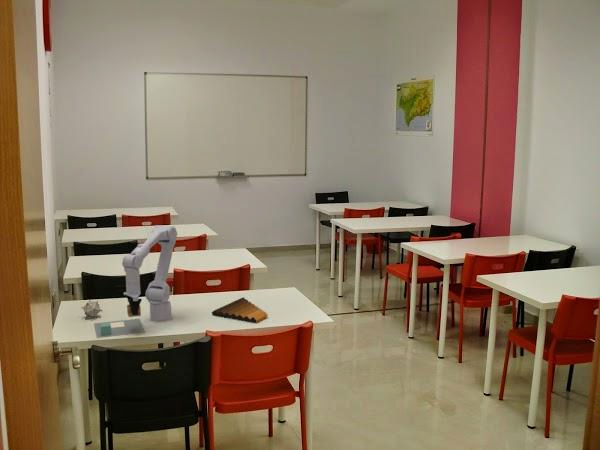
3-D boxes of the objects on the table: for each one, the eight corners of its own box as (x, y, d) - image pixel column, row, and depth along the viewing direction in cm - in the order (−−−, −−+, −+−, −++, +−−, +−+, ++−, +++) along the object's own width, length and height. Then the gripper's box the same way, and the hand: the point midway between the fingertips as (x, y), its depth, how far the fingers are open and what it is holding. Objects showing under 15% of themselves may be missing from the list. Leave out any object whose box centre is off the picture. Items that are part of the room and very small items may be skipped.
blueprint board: (139, 320, 278) (139, 318, 278) (145, 334, 260) (145, 331, 260) (93, 325, 271) (93, 323, 271) (96, 339, 253) (96, 337, 252)
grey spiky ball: (91, 326, 280) (80, 313, 274) (85, 315, 286) (75, 303, 280) (108, 315, 283) (98, 302, 276) (102, 305, 289) (92, 292, 282)
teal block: (110, 331, 260) (110, 322, 259) (111, 334, 256) (110, 325, 256) (100, 332, 259) (100, 323, 258) (101, 335, 255) (101, 326, 254)
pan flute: (240, 303, 308) (211, 316, 286) (240, 296, 308) (211, 309, 286) (283, 310, 297) (256, 324, 275) (283, 303, 296) (256, 317, 274)
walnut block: (139, 312, 264) (138, 303, 263) (140, 315, 259) (140, 306, 259) (127, 313, 262) (127, 304, 262) (128, 317, 258) (128, 308, 257)
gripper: (121, 279, 264) (122, 308, 266) (125, 287, 250) (126, 318, 253) (138, 277, 266) (139, 307, 268) (142, 285, 253) (143, 316, 255)
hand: (134, 312), depth 261 cm, fingers closed on walnut block, 5 cm apart
